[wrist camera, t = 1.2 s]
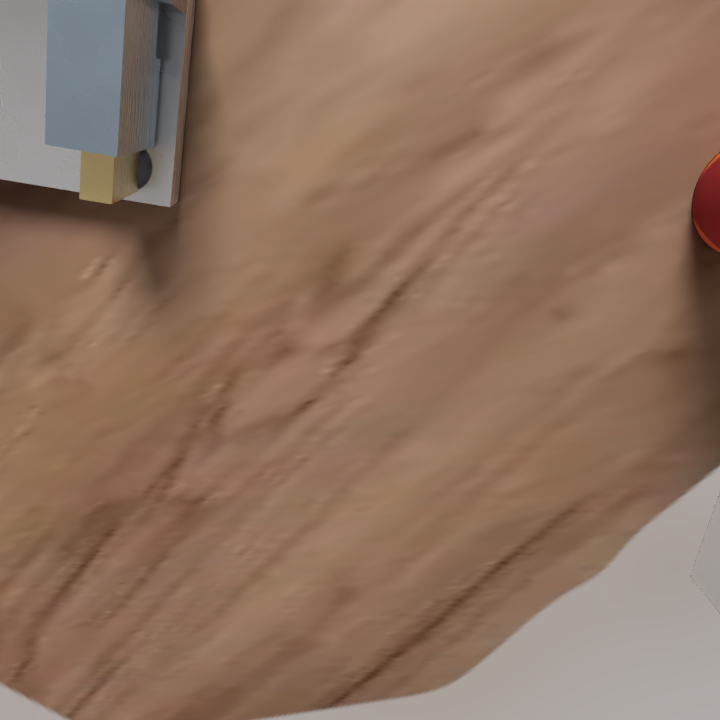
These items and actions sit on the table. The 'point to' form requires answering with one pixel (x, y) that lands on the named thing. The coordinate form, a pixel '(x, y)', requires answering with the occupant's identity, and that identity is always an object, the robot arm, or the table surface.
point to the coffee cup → (708, 204)
